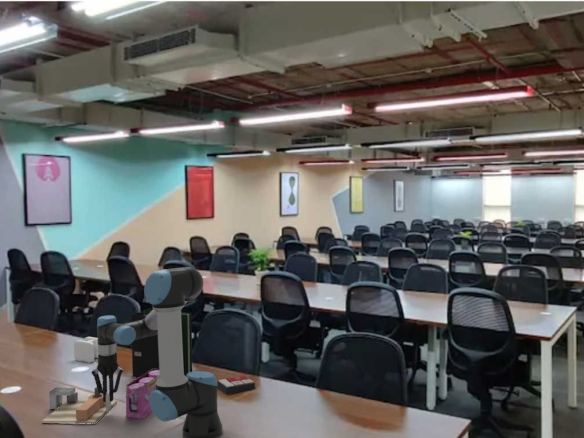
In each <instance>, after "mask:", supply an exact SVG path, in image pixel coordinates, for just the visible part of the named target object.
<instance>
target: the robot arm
mask: <svg viewBox="0 0 584 438" xmlns="http://www.w3.org/2000/svg"><path fill="white" fill-rule="evenodd" d="M203 288H204V278H203V275H202V274H201V272H199V270H198V269H196V268H194V267H191V266H183V267H175V268H168V269H166V268H165V269H164V268H163V269H160V270H155V271H153V272H151V273H150V274H149V275H148V277H147V278H146V280H145V284H144V288H143V289H144V292H143V293H144V297H146V301H147V302H148V303H149V304H151V306H152V308H151V309H153V310H152V311H151V312H150V313H149V314H148V315H147V316H146V317H145V318H144V319H143V320H139V321H135V322H132V321H130V322H125V323H117V317H116V315H102V316H100V317H98V318H97V323H96V324H97V325H96V330H97V331H96V333H97V335H96V336H97V337H96V338H98V354H99V355H98V358H97V366H96V368H95V369H93V370H92V371H91V375H93V377H94V381H95V384H96V387H97V389H98V392H99V393H102V394H103V401H104V402H106V410H109V411H111V410H112V409H111V401H114V394H115V393H117V392H118V390H119V388H120V381H121V378H122V374H123V372H124V371H125V368H123V367H122V368H121V367H120V366H119V364H118V354H117V351H118V345H121V346H122V345H123V346H129V345H132V342H133V341H134V340H137V339H141V338H146V337H150V336H154V335H157V334H158V350H159V372H160V378H159V379H158V380H157V381H156V390H154V391H153V392H152V393H151V395H150V398H149V402H150V407H151V409H152V413H153V415H154V416H155V418H156V419H158V420H159V421H161V422H163V423H165V422H171V421H174V420H176V419H178V418H180V417H182V416H185V418H184V419H185V420H184V423H183V426H182V437H183V438H218V437H219V436H221V435H222V434H223V424H222V421H221V418H220V415H219V413H218V412H219V411H218V388H217V386H218V385H217V381H218V379H217V376H216V375H215V373H212V372H210V371H202V370H200V371H199V370H198V371H197V370H196V371H192V372H189V373H188V374H187V375H186V376H185V375H184V368H183V346H182V324H181V312H182V309H183V308H184V307H185V306H186V304H187V303H191V302H193V301H195V299H196V298H198V296H199V295H200V294H201V292H202V291H203ZM116 371H117V372H116ZM115 372H116V373H117V375H116V380H115V385H114V375H115ZM100 374H101V377H102V382H101V378H100ZM108 389H109V390H108Z"/></svg>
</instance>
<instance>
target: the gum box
mask: <svg viewBox="0 0 584 438" xmlns="http://www.w3.org/2000/svg"><path fill="white" fill-rule="evenodd" d="M159 378H160V372H159V369H155V368H154V369H151V370H150V371H148V372H147V373H145V374H144V375H142V376H140V377H136V378H135V379H134V380H132V381H130V382H128V383H127V384H126V385H125V386H126V389H125V391H126V396H125V397H126V398H125V401H126V402H125V415H126V418H131V419H140V420H141V419H145V417H146V416H148V415H149V414H151V413H153V411H152V409H151V407H150V402H149V398H150V395H151V393H152V392H153V391H154V390H156V381H157V380H158V379H159Z"/></svg>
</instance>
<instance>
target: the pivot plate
mask: <svg viewBox="0 0 584 438" xmlns="http://www.w3.org/2000/svg"><path fill="white" fill-rule="evenodd" d="M93 390H94V394H95V398H98V397H100V393H99V392H98V389H97V386H96V387H94V389H93ZM87 400H88V399H78V402H76V403H67V401H66V402H63V403H62V405H61V406H60V407H59V408H58V409H56V410H53V411H52V412H51V413H49V415H47V416H46V417H44V419H42V420H41V422H42V421H47V422H48V421H49V422H75V423H85V424H87V423H91V424H92V423H93V424H95V423H96V422H97V421H98V420H99V419H100V418H101V419H102V418H104V416H106V414H107V413H109V412H110V410H112V408H115V406H116V405H117V403H118V402H117V400H113V401H111V409H110V410H106V405H105V406H103V407H100V408H99V409H98V410H97V411H96V412H95V413H94V414H93V415H91V416H90V417H89V418H88V419H87V420H76V409H78V408H79V407H80V406H81V405H82V404H84V403H85V402H86V401H87ZM101 419H100V420H101ZM100 420H99V421H100ZM99 421H98V422H99ZM98 422H97V423H98ZM97 423H96V424H97ZM96 424H95V425H96Z"/></svg>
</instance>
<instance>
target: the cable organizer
mask: <svg viewBox="0 0 584 438" xmlns="http://www.w3.org/2000/svg"><path fill="white" fill-rule="evenodd" d="M98 355H99V354H98V337H93V336H87V337H84V340H80V339H77V340H74V342H73V357H74V359H75V360H76V361H77V362H81V363H82V362H85V363H89V364H91V363H93V362H94V361H95V358H96V359H98Z"/></svg>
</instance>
